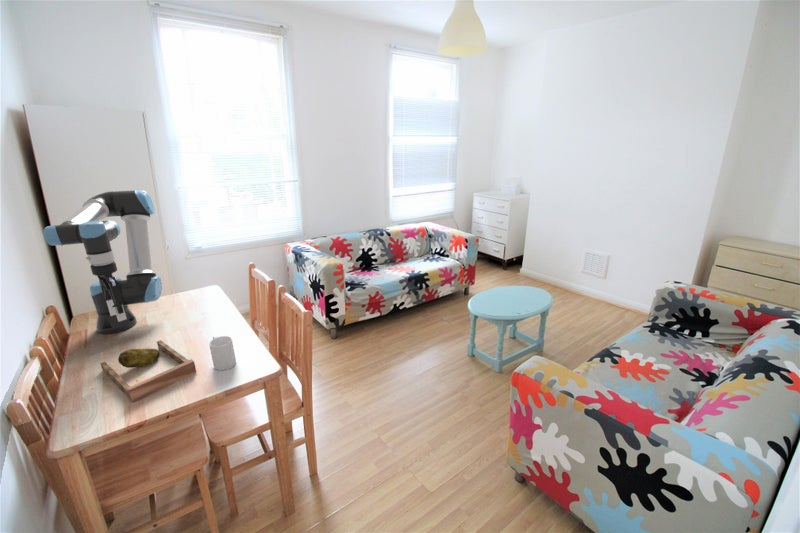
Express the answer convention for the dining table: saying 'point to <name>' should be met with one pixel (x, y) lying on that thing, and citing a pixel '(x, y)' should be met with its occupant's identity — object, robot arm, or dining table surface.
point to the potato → (138, 357)
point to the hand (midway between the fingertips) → (118, 317)
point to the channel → (156, 381)
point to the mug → (222, 352)
